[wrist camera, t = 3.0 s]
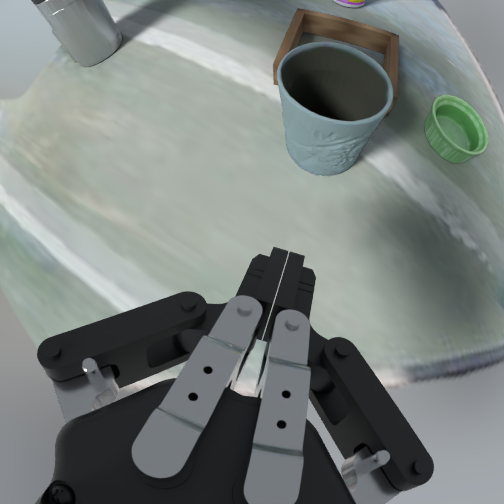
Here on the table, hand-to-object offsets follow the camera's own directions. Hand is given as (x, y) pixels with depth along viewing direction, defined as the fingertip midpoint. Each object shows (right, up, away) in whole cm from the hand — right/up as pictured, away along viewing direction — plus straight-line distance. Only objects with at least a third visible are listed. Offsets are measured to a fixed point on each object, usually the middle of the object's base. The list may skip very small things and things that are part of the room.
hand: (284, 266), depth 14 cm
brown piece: (+11, +26, +21) cm, 36 cm away
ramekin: (+25, +16, +19) cm, 35 cm away
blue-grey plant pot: (+6, +13, +19) cm, 24 cm away
